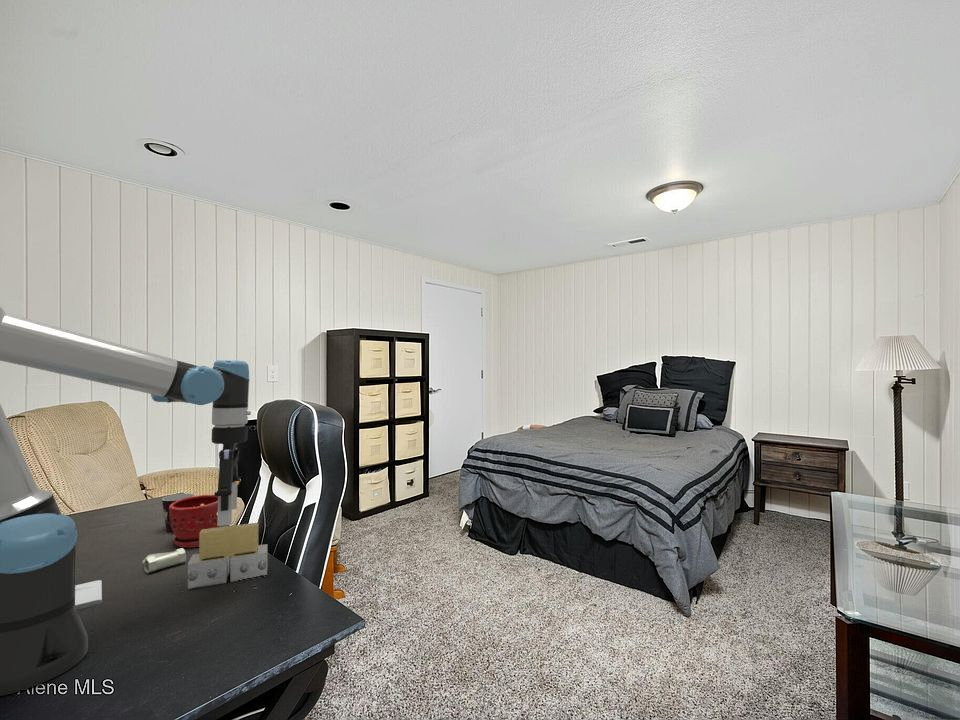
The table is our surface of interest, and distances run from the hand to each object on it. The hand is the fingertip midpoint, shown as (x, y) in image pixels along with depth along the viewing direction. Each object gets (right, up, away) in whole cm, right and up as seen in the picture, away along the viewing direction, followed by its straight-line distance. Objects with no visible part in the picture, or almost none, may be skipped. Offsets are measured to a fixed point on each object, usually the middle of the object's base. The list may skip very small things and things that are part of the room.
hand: (227, 516), depth 110 cm
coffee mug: (-33, -16, +33) cm, 50 cm away
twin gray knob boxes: (+1, -14, 0) cm, 14 cm away
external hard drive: (-27, -15, -10) cm, 32 cm away
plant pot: (-21, -15, +23) cm, 35 cm away
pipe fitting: (-20, -15, +7) cm, 26 cm away
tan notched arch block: (+1, -14, 0) cm, 14 cm away
